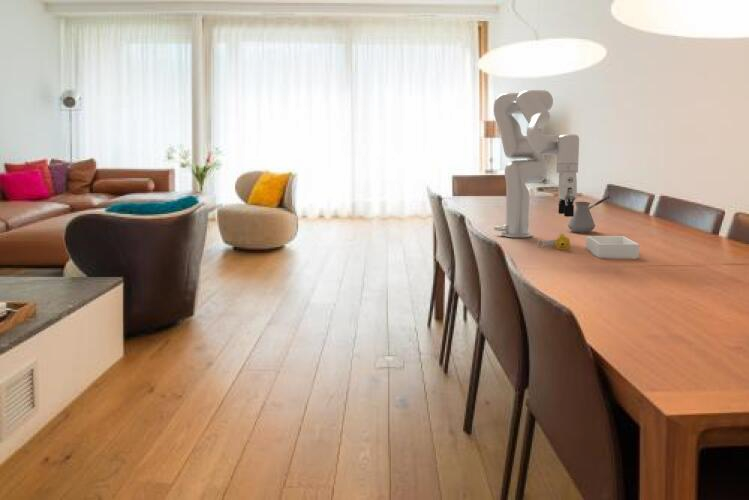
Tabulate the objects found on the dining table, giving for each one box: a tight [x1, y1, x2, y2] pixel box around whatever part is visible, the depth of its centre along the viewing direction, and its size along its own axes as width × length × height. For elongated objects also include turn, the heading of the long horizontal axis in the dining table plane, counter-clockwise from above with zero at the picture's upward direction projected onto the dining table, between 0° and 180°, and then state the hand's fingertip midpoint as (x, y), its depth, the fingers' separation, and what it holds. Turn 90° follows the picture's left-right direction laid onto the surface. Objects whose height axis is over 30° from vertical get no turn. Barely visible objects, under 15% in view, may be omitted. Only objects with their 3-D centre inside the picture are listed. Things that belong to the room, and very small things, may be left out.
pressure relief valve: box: [536, 233, 571, 251], centre depth 231 cm, size 6×12×10 cm
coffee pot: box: [567, 195, 613, 234], centre depth 269 cm, size 21×12×15 cm, turn 113°
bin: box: [585, 235, 640, 260], centre depth 220 cm, size 13×17×5 cm
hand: (565, 215), depth 227 cm, fingers open, 9 cm apart
